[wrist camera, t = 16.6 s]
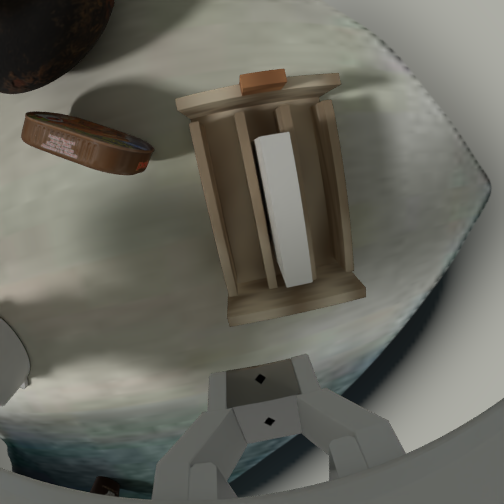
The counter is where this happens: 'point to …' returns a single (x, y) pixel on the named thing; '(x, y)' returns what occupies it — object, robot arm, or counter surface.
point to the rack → (250, 196)
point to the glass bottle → (46, 39)
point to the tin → (86, 143)
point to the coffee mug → (105, 487)
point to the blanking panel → (283, 206)
